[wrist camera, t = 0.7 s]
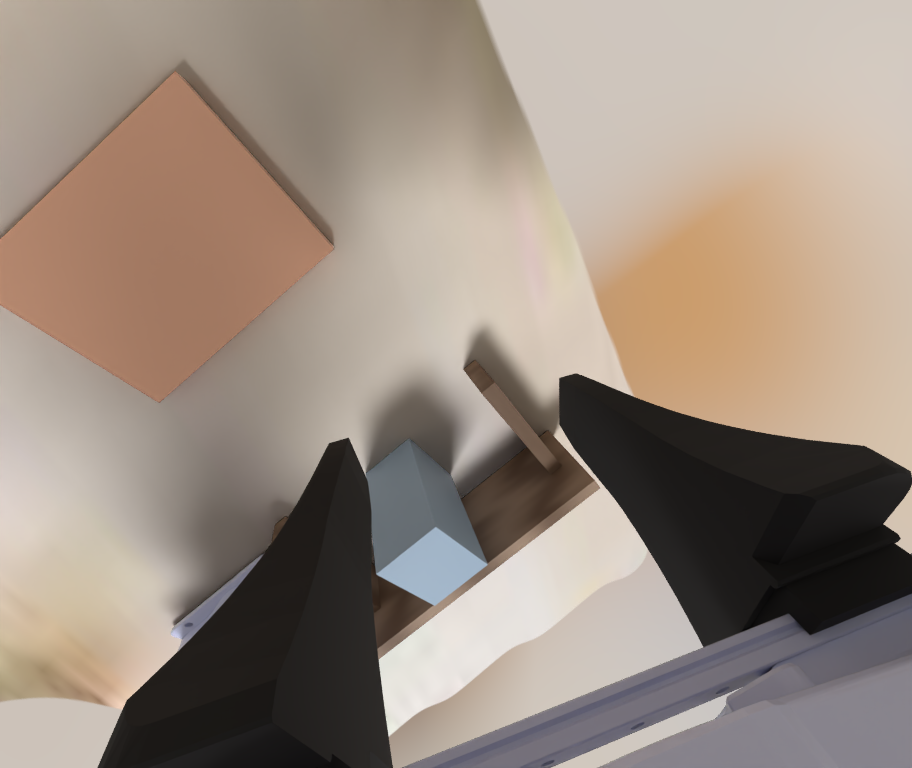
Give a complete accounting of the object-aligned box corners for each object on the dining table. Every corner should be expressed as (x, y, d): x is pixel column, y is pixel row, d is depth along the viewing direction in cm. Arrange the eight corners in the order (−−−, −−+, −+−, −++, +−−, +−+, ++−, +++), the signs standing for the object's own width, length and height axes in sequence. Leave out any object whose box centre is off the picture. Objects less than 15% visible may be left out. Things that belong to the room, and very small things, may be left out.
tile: (167, 394, 19) (159, 402, 18) (-20, 275, 15) (-42, 279, 14) (334, 246, 18) (333, 248, 17) (185, 79, 14) (175, 71, 13)
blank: (411, 506, 28) (434, 605, 21) (365, 473, 25) (375, 574, 18) (450, 474, 27) (488, 564, 20) (409, 438, 25) (435, 526, 18)
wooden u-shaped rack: (366, 585, 30) (372, 664, 25) (264, 533, 25) (244, 619, 20) (553, 437, 29) (600, 488, 24) (486, 350, 23) (528, 390, 18)
